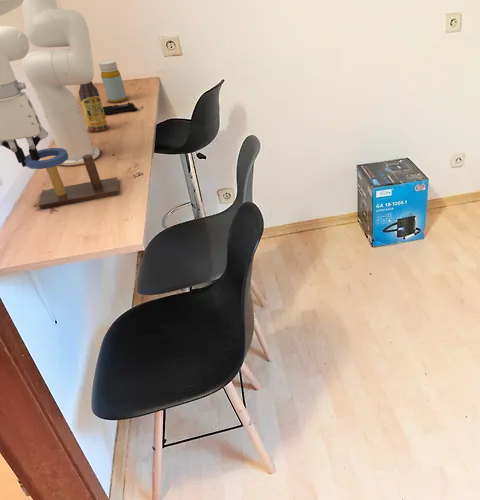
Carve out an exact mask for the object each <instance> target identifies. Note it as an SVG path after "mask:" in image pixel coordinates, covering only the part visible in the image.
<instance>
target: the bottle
mask: <svg viewBox="0 0 480 500" xmlns="http://www.w3.org/2000/svg"><path fill="white" fill-rule="evenodd" d="M98 66H99V69H100V76H101V80H102V83H103V87H104V90H105V91H104V92H105V94H106V97H107V101H108V102H109V103H113V104H117V103H122V102H125V101H126V100H127V98H128V97H127V93H126V90H125V89H126V88H125V85H124V82H123V79H122V75H121V72H120V70H119V69H118V65H117V61H116V60H115V59H106V60H101V61H99V62H98Z"/></svg>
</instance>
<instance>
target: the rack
mask: <svg viewBox="0 0 480 500" xmlns="http://www.w3.org/2000/svg"><path fill="white" fill-rule="evenodd" d="M82 158H83V161H84V163H83V164H84V167H85V168H86V172H87V175H88V178H89V180H90V181H88V182H83V183H76V184H71V185H65V184H64V182H63V180H62V177H61V174H60V172H59V170H58V166H54V167H50V168H45V169H46V172H47V174H48V178H49V180H50V182H51V185H52V187H53V188H49V189H43V190H41V194H40V199H39V203H38V204H39V209H40V210H42V209H43V210H45V209H48V208H55V207H59V206H65V205H69V204H75V203H81V202H86V201H92V200H96V199H102V198H106V197H107V198H108V197H112V196H117V195H120V189H119V179H118V177H117V176H116V177H111V178H105V179H104V178H103V179H101V177H100V174H99V172H98V169H97V165H96V162H95V159H93V156H92V155H90V154H88V155H84V156H83V157H82Z"/></svg>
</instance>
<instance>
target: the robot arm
mask: <svg viewBox="0 0 480 500" xmlns="http://www.w3.org/2000/svg"><path fill="white" fill-rule="evenodd" d="M20 6H21V8H22V9H21V11H22V17H23V23H24V24H23V25H24V30H25V31H22V30H21V29H20V28H18V27H15V26H12V25H0V147H4V148H6V149H8V150H10V151H11V152H12V153H14V156H15V158H16V160H17V163H18V164H21V166H22V168H25V167H27V166H26V164H25V162H24V159H25V156H26V155H25V152H24V150H23V148H22V147H20V146H19V144H18V141H17V140H20V139H26V140H25V141H26V142H27V145H28V154H30V156H31V158H32V160H38V161H41V158H40V156H39V154H38V151H39V150H38V148H37V146H38V144H39V143H40V141H42V140H45V139H46V138H47V137H48V136H49V132H48V131H47V130H46V129H45V128H44V127H43V126H42V123H41V120H40V118H39V116H38V114H37V111H36V109H35V107H34V105H33V103H32V101H31V100H30V98H29V96H28V95H27V93H26V92H25V91H22V90H24V89H25V90H26V89H27V86H26V83H25V82H19V81H18V79H17V78H16V76H15V73H14V71H13V68H12V65H11V63H10V62H14V61H20V60H22V62H21V63H22V64H21V65H22V70H23V73H24V74H25V77H26V78H27V80H28V82H29V83H30V85H31V87H32V89H33V90H34V92H35V94H36V97H37V99H38V101H39V104H40V106H41V109H42V112H43V115H44V118H45V119H46V123H47V125H48V127H49V130H50V134H51V136H52V139H53V141H54V144H55V146H56V147H55V148H63V149H65V150H66V151H67V153H68V160H66V161H65V162H63V163H62V164H59V165H60V166H67V167H68V166H78V165H83V164H84V161H83V158H82V157H83V156H84V155H88V154H90V155H92V156H93V159H94V160H96V159H97V158H98V157H99V156H100V155H101V152H100V151H101V150H100V149H99V148H98V147H96V146H93V145H92V141H91V138H90V136H89V135H90V134H89V133H88V129H87V126H86V124H85V120H84V117H83V115H82V111H81V108H80V106H79V105H80V104H79V101H78V99H77V97H76V96H75V95H74V93H73V92H72V91H71V90H70V89H69V88H68V87H67V86H80V84H87V83H90V82H91V81H92V82H93V79H94V74H95V71H94V62H93V53H92V44H91V36H90V30H89V27H88V23H87V21H86V19H85V17H84V16H83V15H82V13H80V12H79V11H77V10H74V9H70V8H69V9H65V8H64V9H58V5H57V0H0V17H1V16H3V15H5V14H8V13H10V12H12V11H14V10H15V9H18V8H19V7H20ZM30 44H31V45H32V46H35V47H38V48H63V49H42V50H41V49H40V50H34V51H31V52H29V50H30ZM65 47H70V48H65Z"/></svg>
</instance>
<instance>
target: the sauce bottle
mask: <svg viewBox="0 0 480 500" xmlns="http://www.w3.org/2000/svg"><path fill="white" fill-rule="evenodd" d="M78 95H79V99H80V104H81V108H82V111H83V115H84V118H85V120H86V125H87V128H88V130H89V131H90V132H96V133H97V132H102V131H104V130H107V129H108V124H107V123H108V122H107V119H106V114H104V110H103V107H104V106H103V103H102V99H101V97H100V93H99V91H98V88H97V87H96V86H95V85H94V84H93V80H92V81H91V82H90V83H87V84H80V85H79V90H78Z"/></svg>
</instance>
